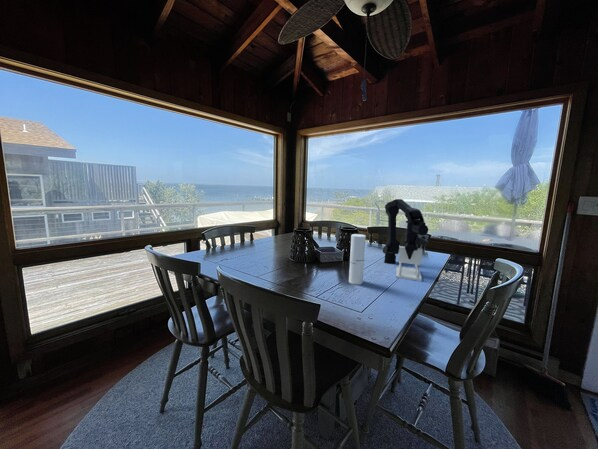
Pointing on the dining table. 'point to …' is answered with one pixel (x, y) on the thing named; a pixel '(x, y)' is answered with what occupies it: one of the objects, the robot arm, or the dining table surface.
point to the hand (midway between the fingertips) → (409, 258)
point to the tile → (414, 259)
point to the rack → (408, 272)
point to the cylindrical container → (357, 258)
